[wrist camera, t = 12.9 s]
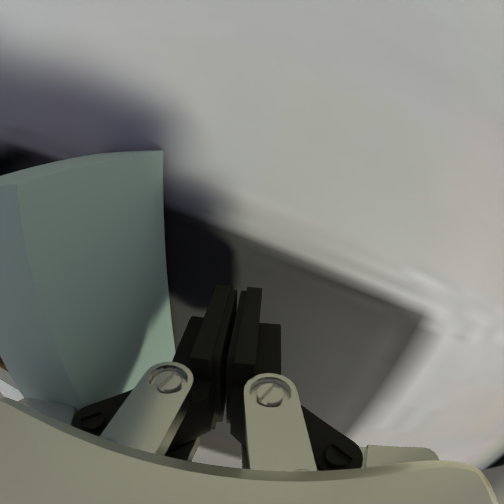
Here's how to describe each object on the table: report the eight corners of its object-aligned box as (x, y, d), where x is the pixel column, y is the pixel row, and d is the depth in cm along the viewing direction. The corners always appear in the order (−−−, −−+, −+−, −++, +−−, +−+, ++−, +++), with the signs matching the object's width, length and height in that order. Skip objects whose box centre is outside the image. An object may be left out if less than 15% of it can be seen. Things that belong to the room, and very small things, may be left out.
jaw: (131, 376, 14) (83, 473, 8) (96, 153, 10) (-49, 192, 3) (180, 386, 14) (144, 495, 8) (163, 150, 10) (16, 184, 3)
